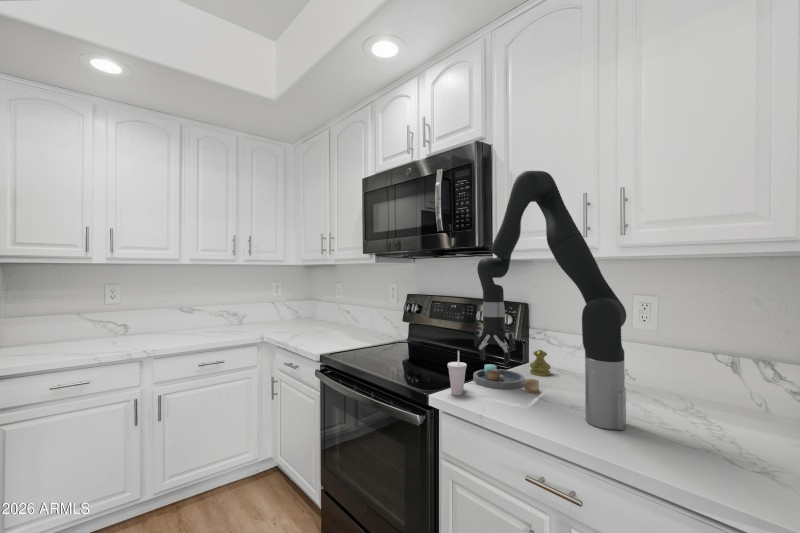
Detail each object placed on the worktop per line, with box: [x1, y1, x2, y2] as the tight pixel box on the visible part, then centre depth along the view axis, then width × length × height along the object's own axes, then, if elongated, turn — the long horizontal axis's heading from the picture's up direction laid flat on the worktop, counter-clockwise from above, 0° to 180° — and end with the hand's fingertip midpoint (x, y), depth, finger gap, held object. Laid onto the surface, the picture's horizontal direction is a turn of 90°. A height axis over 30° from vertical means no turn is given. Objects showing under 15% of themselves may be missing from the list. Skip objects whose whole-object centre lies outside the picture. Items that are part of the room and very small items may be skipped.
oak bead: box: [524, 378, 540, 397], centre depth 123 cm, size 4×4×4 cm
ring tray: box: [472, 368, 525, 390], centre depth 134 cm, size 18×18×3 cm
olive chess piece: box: [529, 349, 552, 377], centre depth 144 cm, size 7×7×10 cm
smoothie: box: [447, 350, 468, 396], centre depth 124 cm, size 6×6×14 cm
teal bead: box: [483, 363, 498, 379], centre depth 139 cm, size 4×4×4 cm
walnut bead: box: [487, 370, 500, 382], centre depth 130 cm, size 4×4×4 cm
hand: (494, 361), depth 131 cm, fingers open, 8 cm apart
